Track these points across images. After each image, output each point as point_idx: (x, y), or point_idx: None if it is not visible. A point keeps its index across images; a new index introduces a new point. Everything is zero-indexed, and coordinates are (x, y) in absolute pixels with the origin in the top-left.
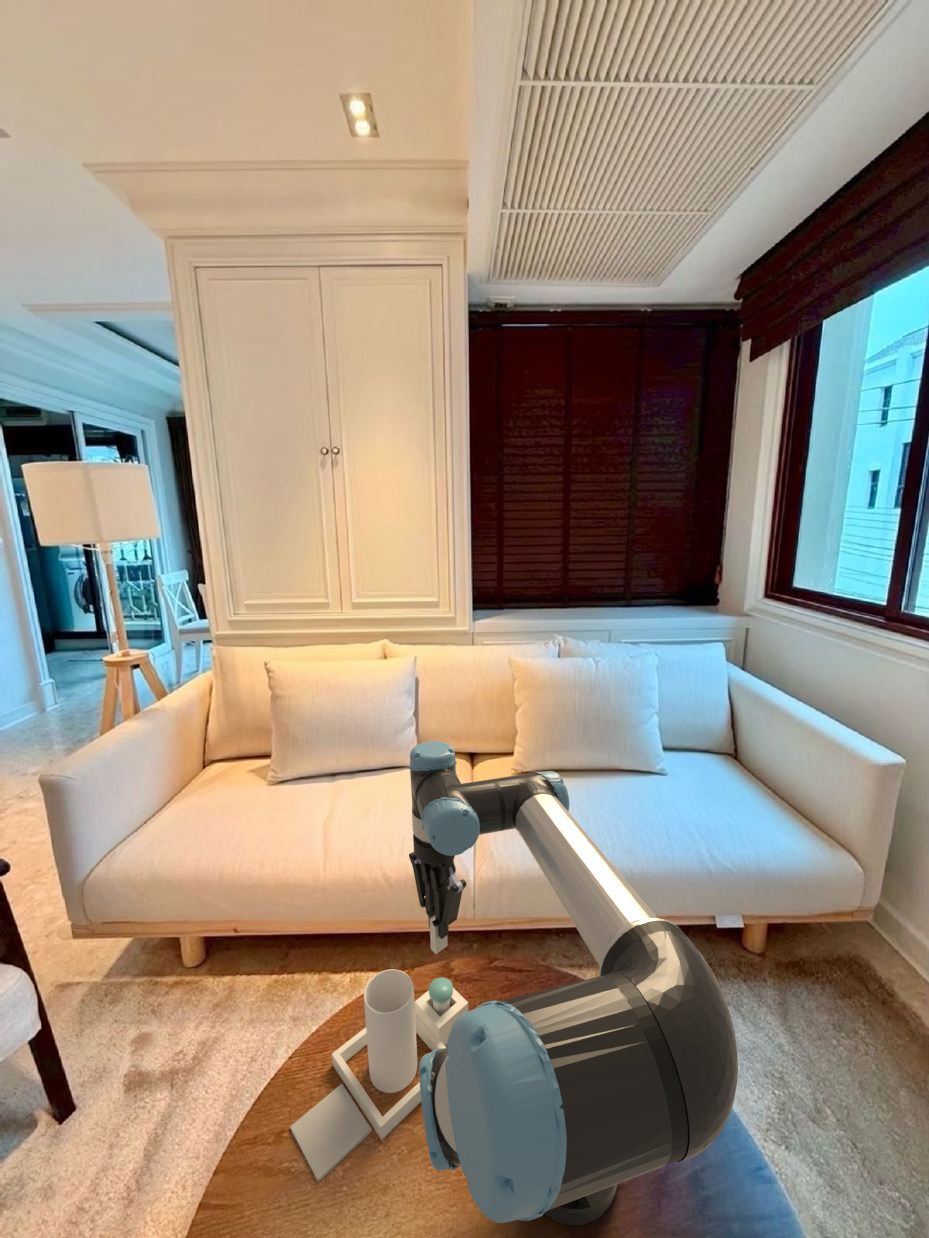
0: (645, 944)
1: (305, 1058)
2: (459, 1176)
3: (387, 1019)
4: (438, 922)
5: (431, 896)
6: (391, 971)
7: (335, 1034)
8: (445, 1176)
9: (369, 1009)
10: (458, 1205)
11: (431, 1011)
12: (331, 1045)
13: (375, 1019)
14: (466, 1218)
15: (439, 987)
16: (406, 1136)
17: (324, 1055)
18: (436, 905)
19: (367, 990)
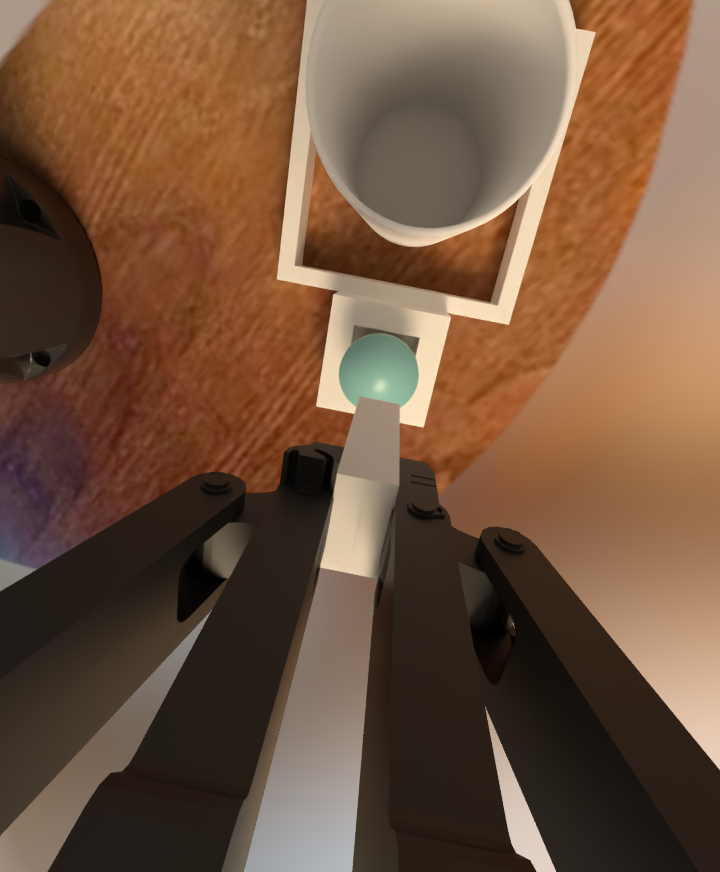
0: None
1: (676, 2)
2: (121, 84)
3: None
4: (294, 481)
5: (387, 642)
6: (505, 200)
7: (635, 130)
8: (144, 59)
9: None
10: (84, 32)
11: (385, 322)
12: (623, 95)
13: None
14: (55, 24)
15: (383, 374)
16: (273, 60)
17: (623, 56)
18: (280, 578)
19: (554, 28)
